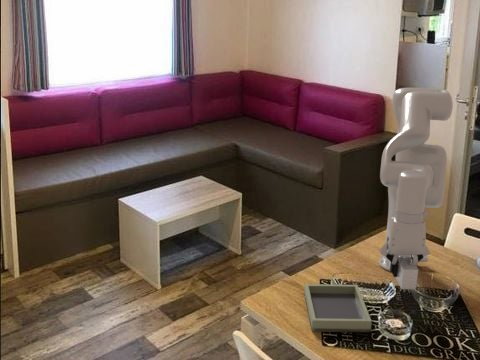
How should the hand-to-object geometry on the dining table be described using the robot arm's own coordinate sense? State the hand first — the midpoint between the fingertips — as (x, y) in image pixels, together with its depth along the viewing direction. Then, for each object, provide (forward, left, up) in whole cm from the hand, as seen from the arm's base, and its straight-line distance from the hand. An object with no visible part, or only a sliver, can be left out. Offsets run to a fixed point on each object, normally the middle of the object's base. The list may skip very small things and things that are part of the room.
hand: (402, 274), depth 162 cm
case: (+18, +1, -12) cm, 22 cm away
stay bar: (0, 0, -1) cm, 1 cm away
